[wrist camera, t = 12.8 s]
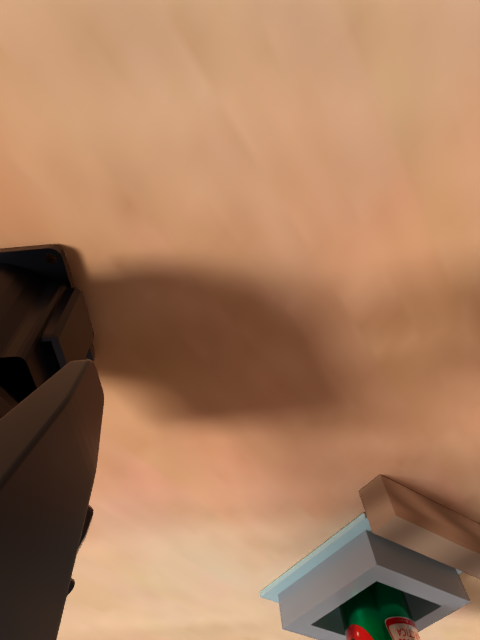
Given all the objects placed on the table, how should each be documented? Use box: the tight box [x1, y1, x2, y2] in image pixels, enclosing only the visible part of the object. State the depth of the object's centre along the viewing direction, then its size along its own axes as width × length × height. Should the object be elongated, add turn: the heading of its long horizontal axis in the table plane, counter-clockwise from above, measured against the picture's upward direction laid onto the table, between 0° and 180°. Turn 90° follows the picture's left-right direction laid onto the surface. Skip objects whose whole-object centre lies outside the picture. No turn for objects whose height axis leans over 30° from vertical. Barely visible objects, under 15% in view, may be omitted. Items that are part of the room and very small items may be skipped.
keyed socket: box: [260, 513, 471, 640], centre depth 35 cm, size 12×12×3 cm
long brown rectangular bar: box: [359, 475, 480, 579], centre depth 32 cm, size 16×2×3 cm, turn 54°
